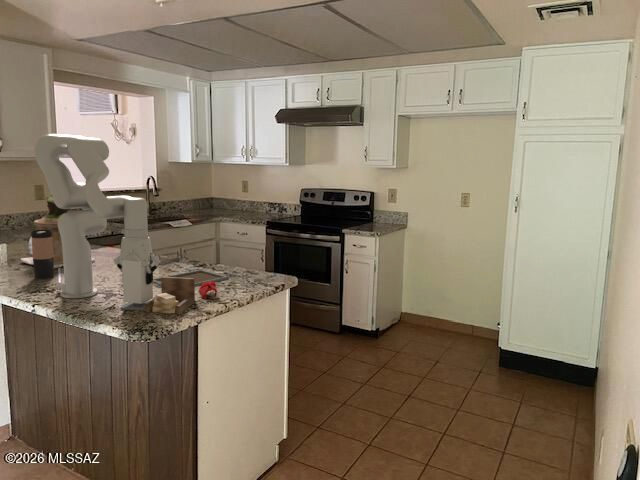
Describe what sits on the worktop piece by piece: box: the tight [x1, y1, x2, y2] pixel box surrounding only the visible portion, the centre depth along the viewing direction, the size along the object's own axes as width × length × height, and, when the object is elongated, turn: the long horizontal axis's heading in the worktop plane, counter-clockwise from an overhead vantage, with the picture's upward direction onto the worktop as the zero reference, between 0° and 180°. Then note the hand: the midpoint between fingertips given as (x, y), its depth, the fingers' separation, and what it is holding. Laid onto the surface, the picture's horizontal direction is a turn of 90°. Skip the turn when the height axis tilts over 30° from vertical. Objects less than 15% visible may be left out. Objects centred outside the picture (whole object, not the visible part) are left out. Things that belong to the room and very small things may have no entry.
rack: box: [145, 276, 196, 316], centre depth 171 cm, size 12×15×9 cm
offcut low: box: [152, 307, 176, 314], centre depth 167 cm, size 8×4×2 cm, turn 82°
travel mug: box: [30, 229, 55, 280], centre depth 205 cm, size 8×8×20 cm
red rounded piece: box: [198, 282, 218, 299], centre depth 186 cm, size 8×6×6 cm
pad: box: [120, 300, 151, 311], centre depth 172 cm, size 9×9×1 cm
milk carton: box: [121, 249, 154, 304], centre depth 170 cm, size 7×7×19 cm
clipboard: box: [152, 269, 230, 289], centre depth 208 cm, size 19×2×30 cm
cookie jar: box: [20, 195, 96, 269], centre depth 232 cm, size 25×25×32 cm
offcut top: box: [155, 292, 176, 304], centre depth 166 cm, size 6×4×2 cm, turn 48°
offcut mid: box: [154, 300, 180, 310], centre depth 166 cm, size 8×4×2 cm, turn 68°
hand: (137, 282), depth 170 cm, fingers closed on milk carton, 7 cm apart
